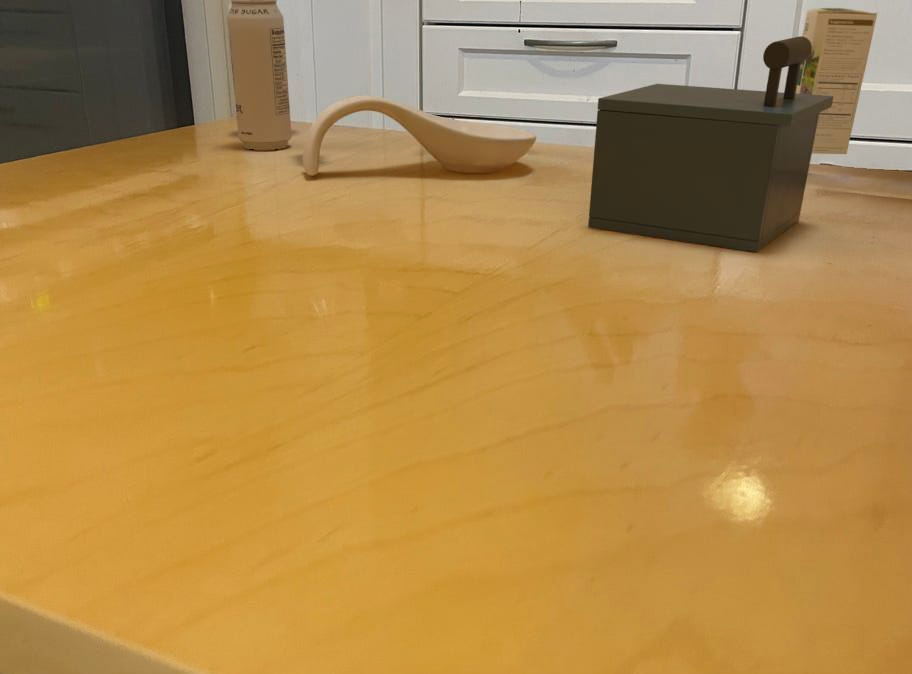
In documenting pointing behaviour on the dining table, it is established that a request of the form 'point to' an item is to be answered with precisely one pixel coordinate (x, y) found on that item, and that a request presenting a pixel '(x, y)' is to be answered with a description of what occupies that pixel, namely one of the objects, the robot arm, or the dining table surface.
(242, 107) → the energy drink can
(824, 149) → the syrup box
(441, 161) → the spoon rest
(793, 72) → the lid
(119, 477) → the dining table surface
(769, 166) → the chest
